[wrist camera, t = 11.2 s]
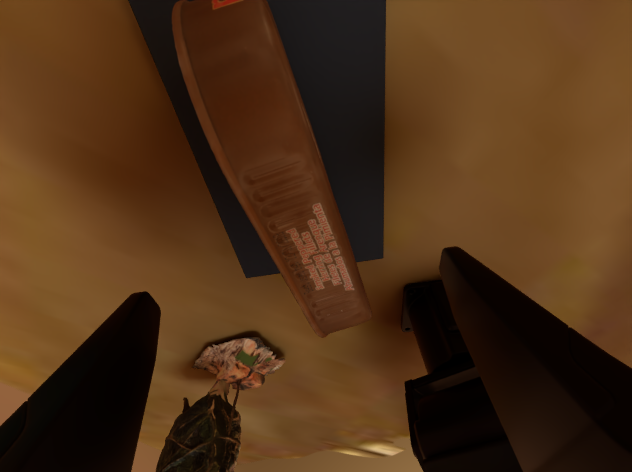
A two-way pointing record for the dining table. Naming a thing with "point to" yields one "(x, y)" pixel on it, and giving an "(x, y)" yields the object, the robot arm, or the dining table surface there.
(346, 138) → the placemat
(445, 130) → the dining table surface
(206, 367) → the plant with pod
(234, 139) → the tin
